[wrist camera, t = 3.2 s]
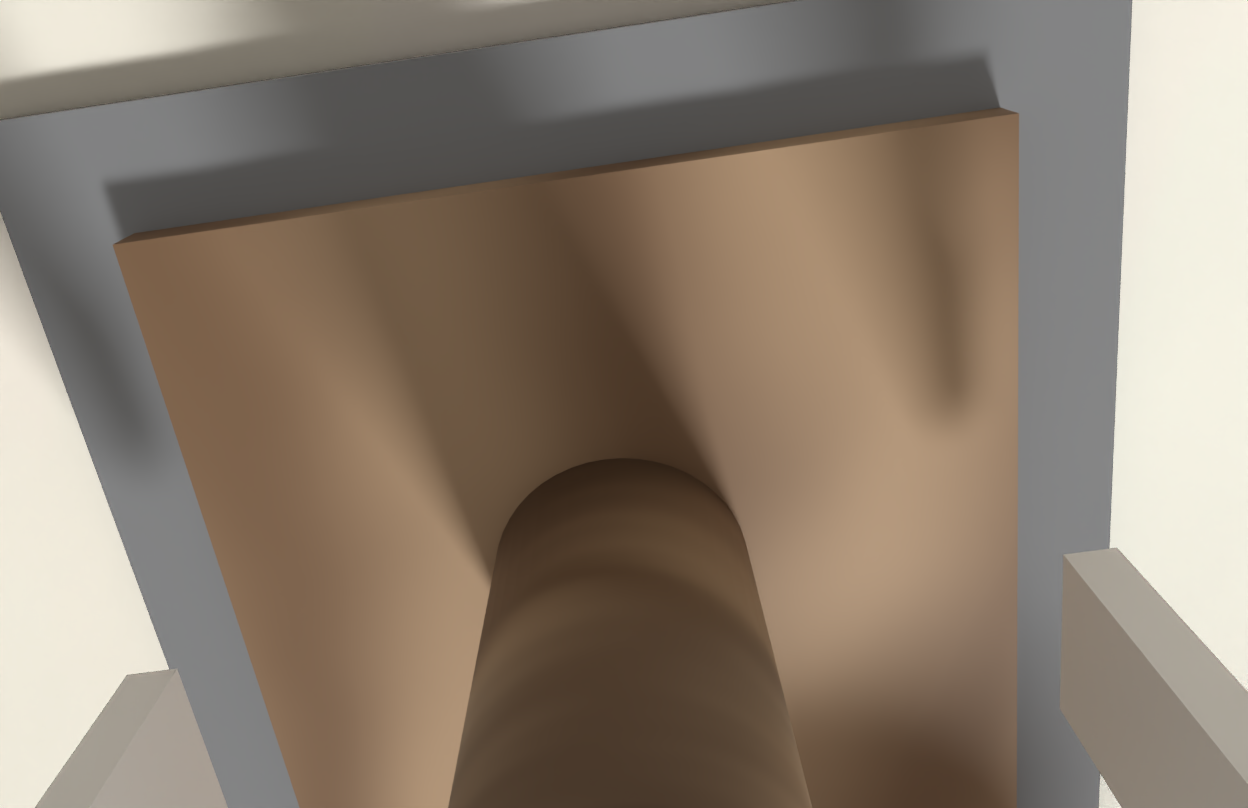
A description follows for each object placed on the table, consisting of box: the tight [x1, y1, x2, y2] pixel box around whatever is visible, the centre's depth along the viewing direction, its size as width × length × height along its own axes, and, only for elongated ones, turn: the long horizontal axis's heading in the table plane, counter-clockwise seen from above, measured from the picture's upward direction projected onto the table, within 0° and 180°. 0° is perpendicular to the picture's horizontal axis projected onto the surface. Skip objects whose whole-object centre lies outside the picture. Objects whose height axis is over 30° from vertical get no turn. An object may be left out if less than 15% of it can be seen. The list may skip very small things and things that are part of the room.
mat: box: [0, 0, 1132, 808], centre depth 19 cm, size 18×18×1 cm
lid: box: [113, 108, 1019, 808], centre depth 15 cm, size 14×14×9 cm
